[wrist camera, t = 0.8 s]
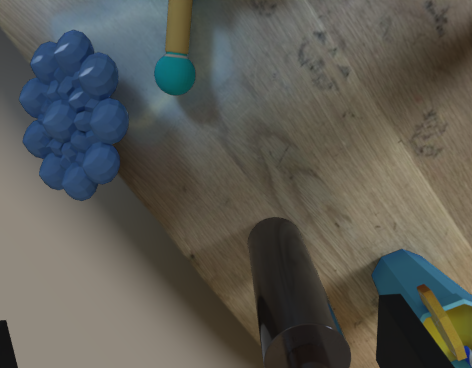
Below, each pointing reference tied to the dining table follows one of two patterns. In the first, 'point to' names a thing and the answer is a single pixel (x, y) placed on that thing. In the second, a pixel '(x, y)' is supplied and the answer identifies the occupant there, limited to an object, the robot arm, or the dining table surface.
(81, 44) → the grapes
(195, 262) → the dining table surface
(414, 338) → the robot arm
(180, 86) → the dagger
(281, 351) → the sake bottle
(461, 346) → the cup
